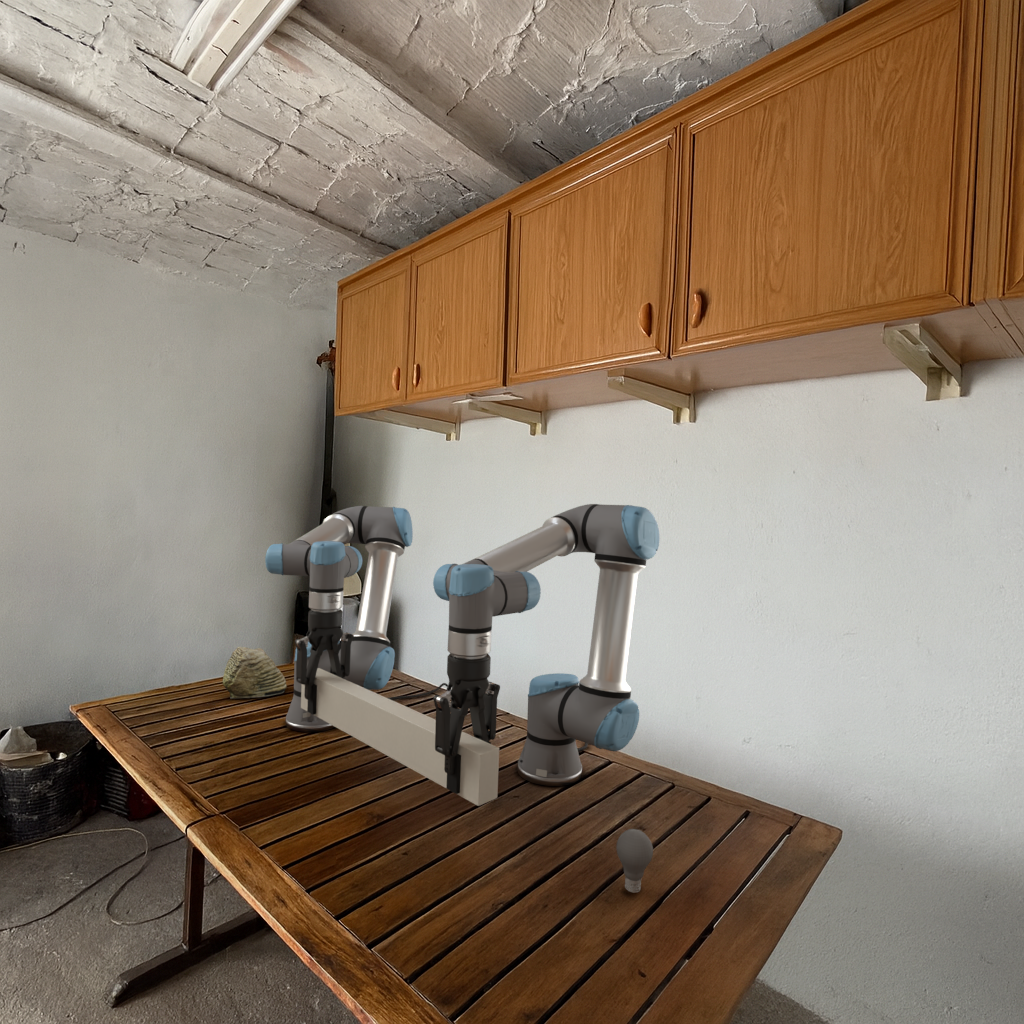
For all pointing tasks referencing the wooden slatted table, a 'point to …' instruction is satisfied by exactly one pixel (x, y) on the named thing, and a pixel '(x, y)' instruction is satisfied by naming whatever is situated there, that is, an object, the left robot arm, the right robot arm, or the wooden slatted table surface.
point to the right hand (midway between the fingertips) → (464, 785)
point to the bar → (404, 735)
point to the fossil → (252, 674)
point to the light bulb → (634, 857)
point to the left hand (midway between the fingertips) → (322, 710)
